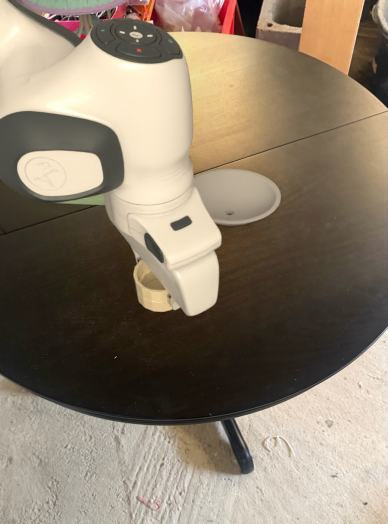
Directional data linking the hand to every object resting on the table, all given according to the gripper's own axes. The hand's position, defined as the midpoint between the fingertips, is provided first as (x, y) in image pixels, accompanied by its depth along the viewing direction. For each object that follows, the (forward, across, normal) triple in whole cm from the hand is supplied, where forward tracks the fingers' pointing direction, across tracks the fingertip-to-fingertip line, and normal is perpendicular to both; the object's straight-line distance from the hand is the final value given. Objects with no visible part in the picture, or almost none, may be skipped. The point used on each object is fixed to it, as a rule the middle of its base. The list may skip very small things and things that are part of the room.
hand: (160, 284), depth 61 cm
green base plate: (+14, -39, +9) cm, 43 cm away
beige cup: (+2, 0, 0) cm, 2 cm away
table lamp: (+14, -59, +20) cm, 63 cm away
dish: (+14, -17, +24) cm, 33 cm away
